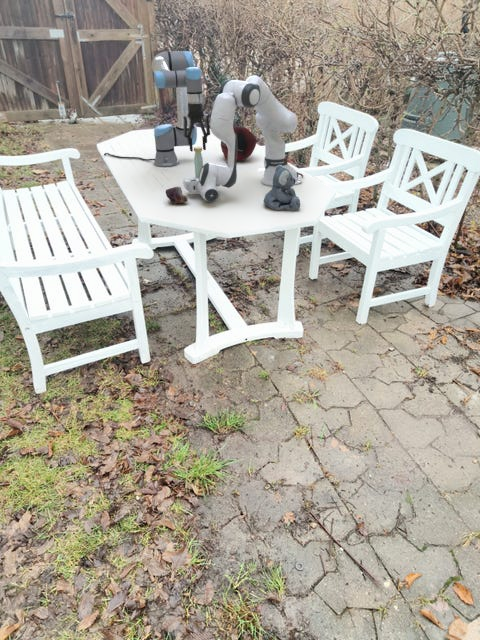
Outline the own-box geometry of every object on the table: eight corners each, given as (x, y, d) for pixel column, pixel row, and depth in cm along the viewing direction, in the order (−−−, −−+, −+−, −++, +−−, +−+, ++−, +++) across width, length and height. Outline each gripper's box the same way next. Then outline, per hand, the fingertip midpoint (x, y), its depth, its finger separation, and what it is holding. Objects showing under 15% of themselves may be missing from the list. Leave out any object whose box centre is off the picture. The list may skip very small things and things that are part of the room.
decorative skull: (217, 132, 306) (217, 129, 282) (251, 124, 305) (253, 121, 281) (224, 164, 313) (224, 164, 289) (257, 157, 312) (260, 156, 288)
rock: (181, 200, 240) (163, 203, 236) (179, 183, 237) (161, 186, 232) (189, 203, 231) (171, 206, 227) (188, 186, 227) (169, 189, 223)
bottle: (199, 191, 248) (197, 150, 236) (194, 189, 251) (191, 148, 238) (205, 190, 251) (203, 148, 238) (200, 188, 253) (198, 147, 241)
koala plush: (301, 211, 222) (304, 171, 211) (265, 212, 221) (266, 172, 210) (295, 199, 236) (297, 161, 225) (261, 200, 235) (262, 162, 224)
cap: (192, 151, 237) (192, 148, 236) (195, 149, 241) (195, 146, 240) (200, 151, 237) (200, 148, 236) (203, 149, 240) (202, 146, 239)
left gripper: (211, 100, 231) (212, 146, 244) (174, 102, 225) (178, 150, 239) (215, 102, 226) (217, 150, 239) (178, 105, 220) (182, 153, 233)
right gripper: (223, 178, 238) (217, 170, 248) (185, 181, 233) (180, 174, 244) (223, 189, 241) (217, 182, 252) (186, 193, 236) (181, 185, 247)
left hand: (197, 150), depth 239 cm, fingers open, 7 cm apart
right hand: (199, 178), depth 248 cm, fingers closed on bottle, 4 cm apart
